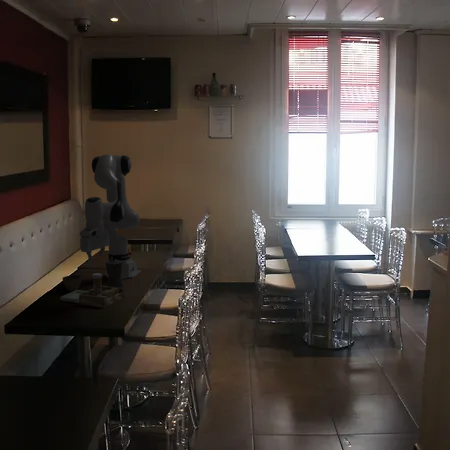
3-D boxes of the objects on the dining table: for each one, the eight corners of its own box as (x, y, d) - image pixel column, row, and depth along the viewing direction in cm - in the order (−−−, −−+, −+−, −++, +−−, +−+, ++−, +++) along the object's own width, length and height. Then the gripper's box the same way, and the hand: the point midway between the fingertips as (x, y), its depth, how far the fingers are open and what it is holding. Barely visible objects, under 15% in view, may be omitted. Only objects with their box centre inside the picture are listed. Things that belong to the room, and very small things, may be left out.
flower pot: (74, 286, 306) (73, 274, 305) (86, 289, 300) (85, 276, 299) (59, 290, 298) (58, 277, 297) (71, 293, 292) (70, 280, 291)
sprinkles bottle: (102, 301, 278) (100, 275, 276) (92, 301, 278) (91, 275, 276) (103, 298, 283) (102, 272, 281) (94, 298, 283) (93, 273, 281)
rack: (100, 294, 289) (100, 285, 289) (123, 297, 284) (123, 288, 284) (79, 304, 273) (79, 294, 272) (103, 307, 268) (103, 297, 267)
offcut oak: (113, 297, 285) (112, 288, 284) (119, 298, 284) (118, 288, 283) (107, 300, 280) (107, 290, 280) (113, 300, 279) (113, 291, 278)
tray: (77, 293, 292) (77, 289, 292) (93, 295, 289) (93, 291, 288) (60, 300, 279) (60, 297, 279) (77, 302, 276) (76, 299, 275)
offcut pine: (106, 300, 279) (106, 290, 278) (112, 301, 278) (112, 290, 277) (102, 302, 276) (101, 292, 275) (108, 303, 274) (107, 292, 274)
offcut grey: (101, 303, 275) (101, 295, 275) (107, 303, 274) (107, 296, 273) (96, 305, 271) (96, 297, 270) (102, 306, 270) (102, 298, 269)
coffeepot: (127, 291, 296) (125, 258, 293) (109, 293, 292) (108, 259, 290) (119, 284, 310) (118, 252, 307) (103, 286, 306) (101, 254, 303)
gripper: (101, 227, 286) (102, 253, 288) (77, 233, 267) (78, 261, 269) (112, 227, 283) (113, 254, 286) (88, 233, 265) (89, 262, 267)
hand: (96, 257), depth 277 cm, fingers open, 8 cm apart
